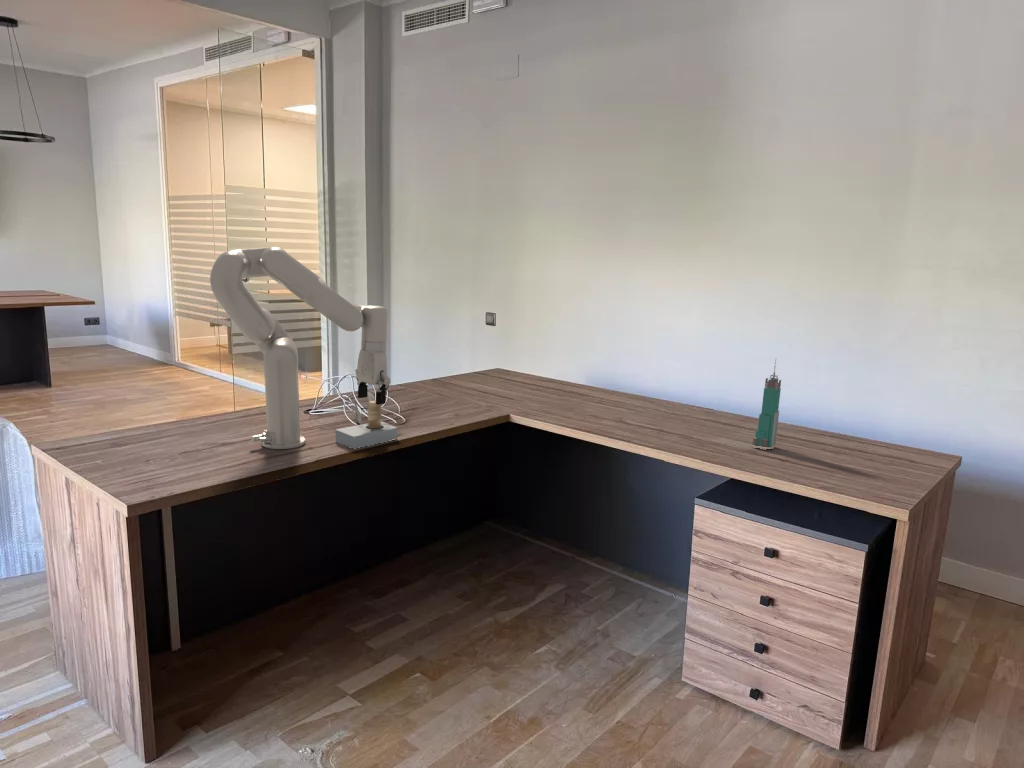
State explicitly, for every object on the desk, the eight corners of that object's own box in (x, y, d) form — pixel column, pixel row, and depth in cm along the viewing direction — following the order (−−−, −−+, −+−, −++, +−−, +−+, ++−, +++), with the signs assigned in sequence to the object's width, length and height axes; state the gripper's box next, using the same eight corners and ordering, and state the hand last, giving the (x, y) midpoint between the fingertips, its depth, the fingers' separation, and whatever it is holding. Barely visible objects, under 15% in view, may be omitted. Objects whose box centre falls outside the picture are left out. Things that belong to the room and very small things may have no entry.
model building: (367, 415, 261) (369, 434, 237) (353, 402, 259) (354, 421, 235) (381, 401, 261) (385, 419, 237) (368, 388, 259) (370, 405, 235)
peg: (373, 441, 219) (372, 404, 216) (365, 439, 222) (365, 401, 219) (384, 439, 222) (383, 402, 219) (376, 436, 225) (376, 400, 222)
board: (353, 449, 211) (353, 436, 210) (335, 442, 217) (335, 429, 217) (397, 439, 222) (397, 427, 221) (379, 433, 229) (379, 421, 228)
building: (770, 451, 223) (781, 358, 217) (751, 448, 226) (761, 356, 220) (775, 447, 228) (785, 355, 222) (756, 443, 231) (765, 353, 225)
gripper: (347, 342, 219) (345, 396, 222) (379, 351, 207) (377, 408, 210) (368, 341, 224) (365, 394, 227) (400, 350, 212) (397, 405, 216)
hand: (371, 400), depth 219 cm, fingers open, 9 cm apart
